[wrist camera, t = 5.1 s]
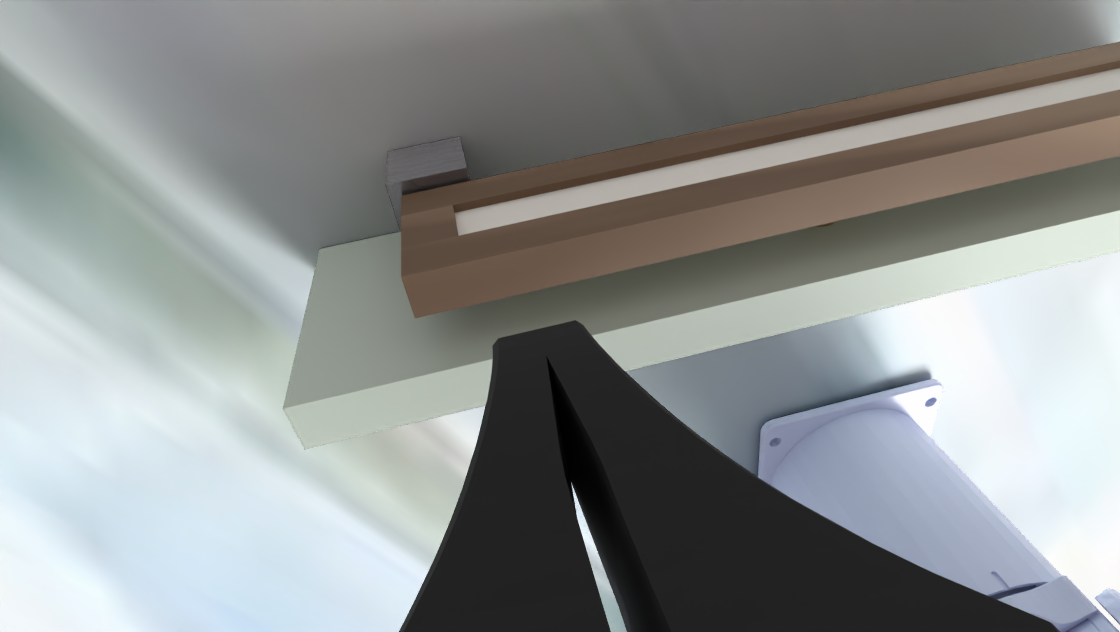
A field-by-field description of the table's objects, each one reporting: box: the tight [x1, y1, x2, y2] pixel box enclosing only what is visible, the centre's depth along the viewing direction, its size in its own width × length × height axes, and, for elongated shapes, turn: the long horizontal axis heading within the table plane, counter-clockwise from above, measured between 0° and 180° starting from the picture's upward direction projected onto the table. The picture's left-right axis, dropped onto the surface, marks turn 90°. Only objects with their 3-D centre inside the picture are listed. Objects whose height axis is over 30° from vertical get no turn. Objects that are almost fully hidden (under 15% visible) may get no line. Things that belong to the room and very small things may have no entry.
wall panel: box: [283, 136, 1120, 449], centre depth 17 cm, size 4×26×7 cm, turn 98°
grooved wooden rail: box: [401, 42, 1120, 318], centre depth 15 cm, size 1×20×4 cm, turn 99°
